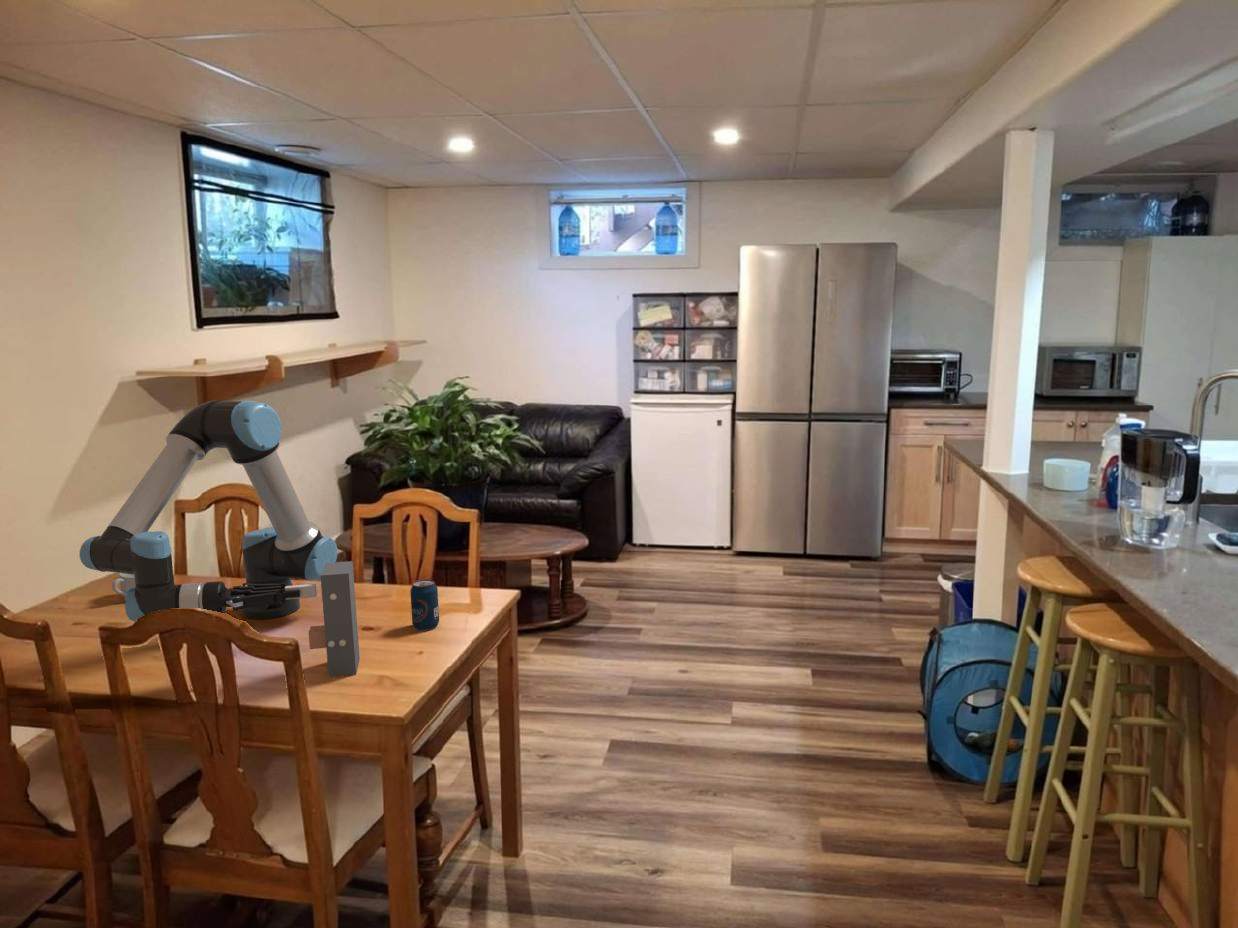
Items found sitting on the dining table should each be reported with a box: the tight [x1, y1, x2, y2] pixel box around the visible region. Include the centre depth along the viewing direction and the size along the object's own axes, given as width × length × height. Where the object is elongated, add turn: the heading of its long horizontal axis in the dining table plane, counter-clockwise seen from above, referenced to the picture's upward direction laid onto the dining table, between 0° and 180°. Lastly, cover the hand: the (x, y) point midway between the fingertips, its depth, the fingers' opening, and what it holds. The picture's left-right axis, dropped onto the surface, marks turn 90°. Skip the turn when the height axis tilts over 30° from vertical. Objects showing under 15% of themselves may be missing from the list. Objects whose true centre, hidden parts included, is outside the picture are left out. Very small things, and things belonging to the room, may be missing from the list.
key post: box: [320, 560, 360, 678], centre depth 202 cm, size 6×10×24 cm, turn 12°
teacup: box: [111, 573, 136, 598], centre depth 257 cm, size 14×11×8 cm
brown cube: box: [307, 624, 326, 650], centre depth 202 cm, size 4×4×4 cm
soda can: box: [409, 579, 440, 632], centre depth 229 cm, size 7×7×12 cm
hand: (315, 590), depth 200 cm, fingers closed
